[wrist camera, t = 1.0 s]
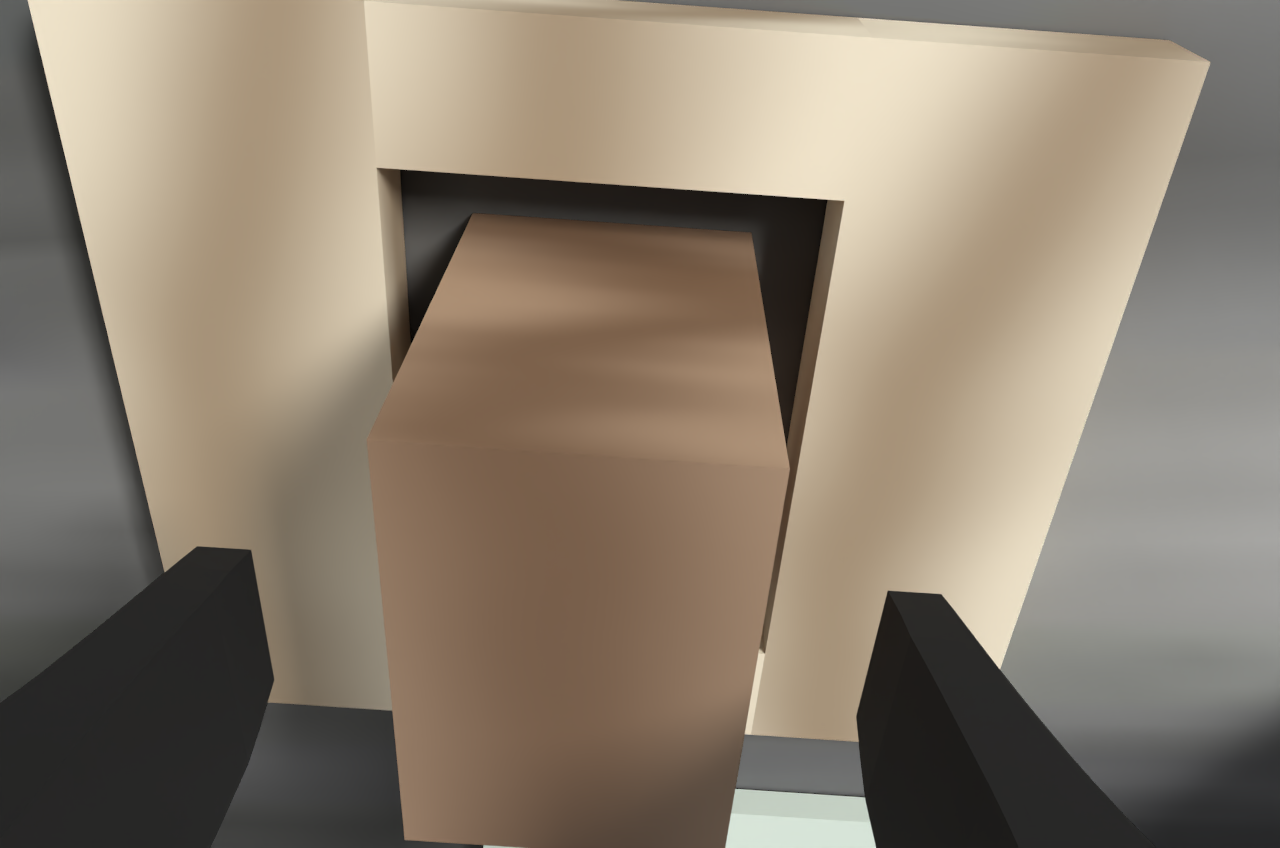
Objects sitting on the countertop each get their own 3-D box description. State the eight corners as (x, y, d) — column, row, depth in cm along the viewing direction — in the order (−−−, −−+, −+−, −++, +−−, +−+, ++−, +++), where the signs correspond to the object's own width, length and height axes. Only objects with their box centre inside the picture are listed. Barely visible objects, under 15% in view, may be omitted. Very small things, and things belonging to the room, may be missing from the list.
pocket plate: (1169, 40, 13) (1210, 62, 12) (957, 698, 20) (972, 749, 19) (73, -39, 13) (21, -25, 12) (219, 649, 19) (194, 697, 18)
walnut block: (751, 231, 15) (789, 468, 10) (710, 554, 18) (722, 861, 13) (473, 211, 15) (367, 439, 10) (481, 539, 18) (405, 840, 13)
